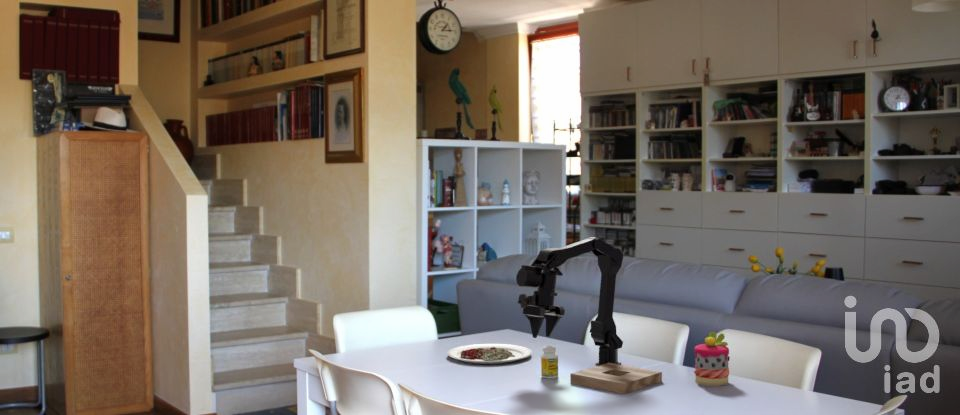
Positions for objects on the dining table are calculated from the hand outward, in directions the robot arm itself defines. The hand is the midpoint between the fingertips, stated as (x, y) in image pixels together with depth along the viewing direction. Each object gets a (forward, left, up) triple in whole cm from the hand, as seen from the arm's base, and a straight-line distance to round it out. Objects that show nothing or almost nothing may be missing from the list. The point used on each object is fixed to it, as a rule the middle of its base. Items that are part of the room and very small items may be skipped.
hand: (541, 337), depth 278 cm
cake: (-28, +45, -13) cm, 54 cm away
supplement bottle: (-1, +3, -13) cm, 13 cm away
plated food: (-11, -33, -13) cm, 37 cm away
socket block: (-9, +23, -13) cm, 27 cm away
